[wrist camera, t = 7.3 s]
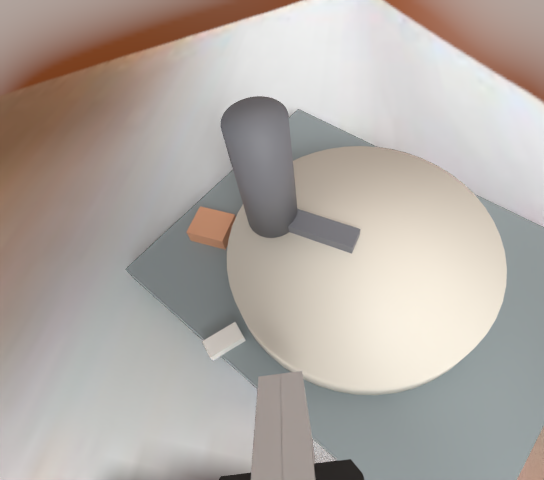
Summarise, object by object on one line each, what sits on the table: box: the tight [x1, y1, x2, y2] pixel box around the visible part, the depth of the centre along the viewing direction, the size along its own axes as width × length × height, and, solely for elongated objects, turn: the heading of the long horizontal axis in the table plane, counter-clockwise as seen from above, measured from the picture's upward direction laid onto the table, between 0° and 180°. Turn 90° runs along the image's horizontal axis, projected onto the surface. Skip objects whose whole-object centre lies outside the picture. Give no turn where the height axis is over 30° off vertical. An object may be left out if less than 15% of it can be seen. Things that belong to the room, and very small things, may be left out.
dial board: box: [126, 109, 544, 480], centre depth 23 cm, size 22×18×2 cm
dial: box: [221, 96, 507, 395], centre depth 19 cm, size 14×14×9 cm
